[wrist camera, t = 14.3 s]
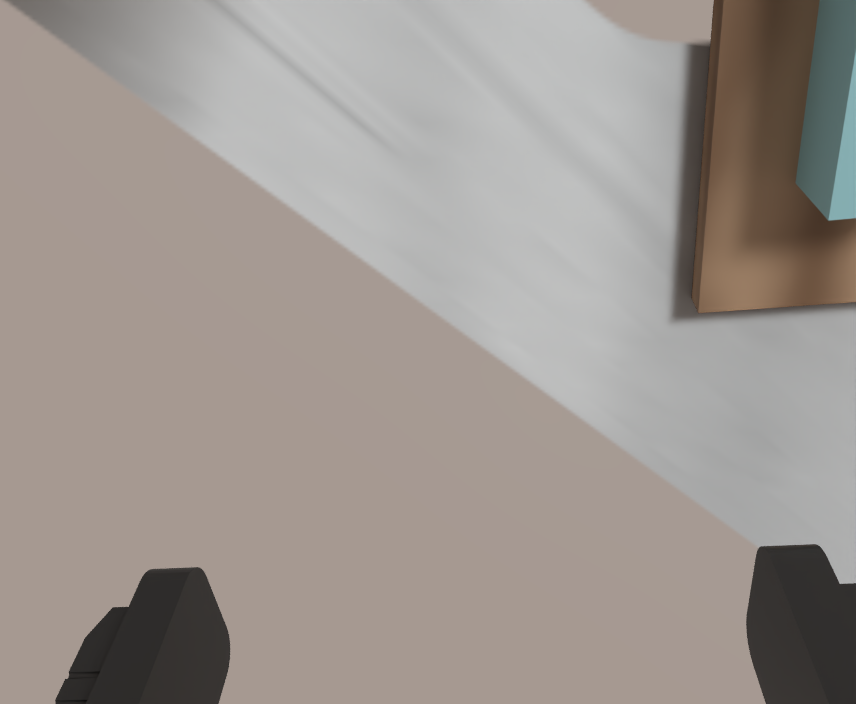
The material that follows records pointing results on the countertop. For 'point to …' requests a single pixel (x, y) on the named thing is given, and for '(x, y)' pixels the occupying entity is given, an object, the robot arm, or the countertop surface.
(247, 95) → the countertop surface
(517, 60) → the countertop surface
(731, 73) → the jig
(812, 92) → the teal slotted block
